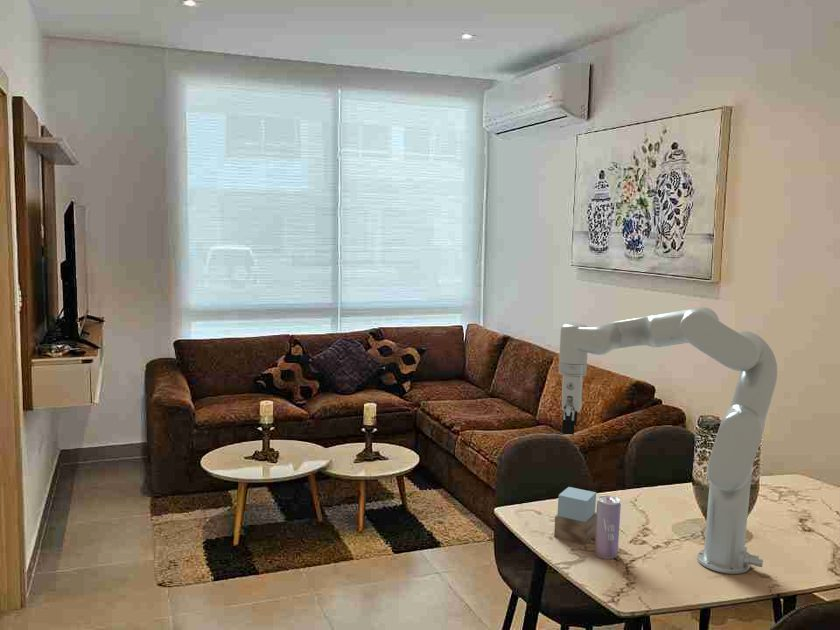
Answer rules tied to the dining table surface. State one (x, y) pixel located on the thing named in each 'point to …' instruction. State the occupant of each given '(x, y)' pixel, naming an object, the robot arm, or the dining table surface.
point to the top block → (576, 504)
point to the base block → (575, 529)
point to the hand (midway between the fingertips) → (569, 429)
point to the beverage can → (607, 527)
